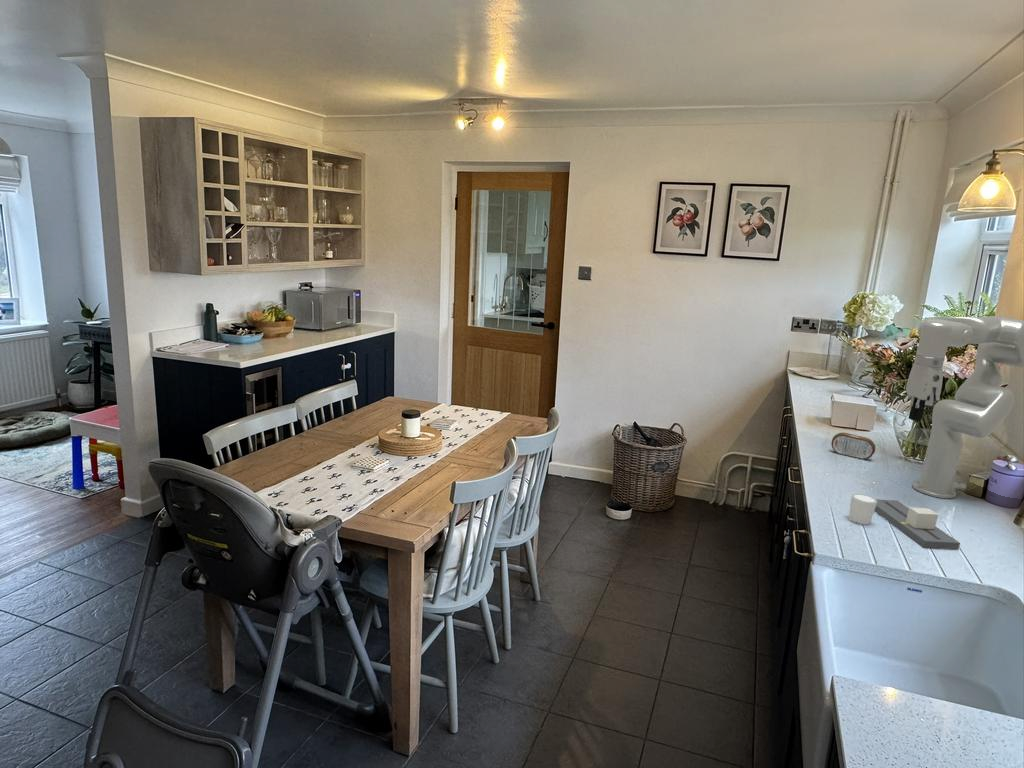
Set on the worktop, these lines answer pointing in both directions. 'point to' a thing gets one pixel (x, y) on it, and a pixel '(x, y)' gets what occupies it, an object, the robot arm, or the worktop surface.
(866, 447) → the tin
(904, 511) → the fader track
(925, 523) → the fader knob
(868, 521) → the white cylinder
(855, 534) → the worktop surface
